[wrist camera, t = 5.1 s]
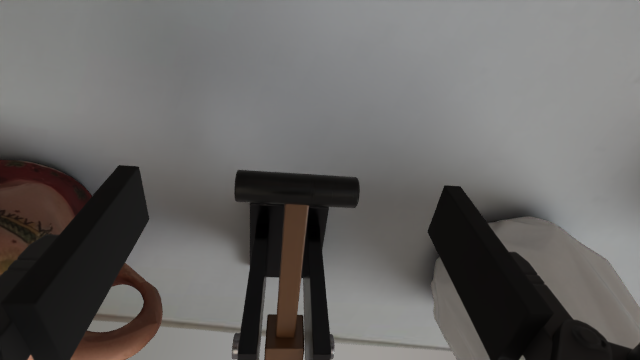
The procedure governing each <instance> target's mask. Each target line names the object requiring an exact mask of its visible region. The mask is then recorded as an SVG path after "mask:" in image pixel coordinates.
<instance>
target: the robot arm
mask: <svg viewBox="0 0 640 360" xmlns="http://www.w3.org/2000/svg"><path fill="white" fill-rule="evenodd" d="M148 221H149V215H148V210H147V205H146V200H145V195H144V190H143V185H142V180H141V175H140V170H139V167H137V166H121V165H119V166H118V167H117V168H116V169H115V171H114V172H113V173H112V174H111V175H110V176H109V178H108V179H107V180H106V181H105V182H104V183H103V185H102V186H101V187H100V188H99V189H98V190H97V192H96V193H95V194H94V195H93V196H92V197H91V198H90V200H89V201H88V202H87V203H86V204H85V205H84V207H83V208H82V209H81V210H80V211H79V212H78V214H77V215H76V216H75V217H74V218H73V219H72V221H71V222H70V223H69V224H68V225H67V226H66V228H65V229H64V230H63V231H62V232H61V233H60V235H53V234H46V235H44V236H43V237H41V238H39V239H38V240H36V241H35V242H33V243H31V244H30V245H29V246H28V247H27V248H26V249H25V250H24V251H23V252H22V253H21V254H20V255H19V256H18V257H17V258H18V259H17V260H15V261H14V262H13V263H12V264H11V265H10V266H9V267H8V270H7V271H4V272H3V273H2V274H1V276H0V360H27V359H28V358H29V356H30V355H31V356H32V358H33V359H34V360H70V359H71V357H72V356H73V354H74V352H75V350H76V348H77V347H78V345H79V343H80V341H81V340H82V338H83V336H84V334H85V332H86V331H87V329H88V327H89V325H90V324H91V322H92V320H93V318H94V316H95V315H96V313H97V311H98V309H99V308H100V306H101V304H102V302H103V300H104V299H105V297H106V295H107V293H108V292H109V290H110V288H111V286H112V285H113V283H114V281H115V279H116V277H117V276H118V274H119V272H120V270H121V269H122V267H123V265H124V263H125V261H126V260H127V258H128V256H129V254H130V253H131V251H132V249H133V247H134V245H135V244H136V242H137V240H138V238H139V237H140V235H141V233H142V231H143V229H144V228H145V226H146V224H147V222H148ZM428 234H429V236H430V238H431V240H432V242H433V244H434V246H435V248H436V250H437V252H438V254H439V256H440V258H441V260H442V262H443V265H444V267H445V269H446V271H447V273H448V275H449V277H450V279H451V281H452V283H453V285H454V287H455V289H456V291H457V293H458V295H459V297H460V299H461V301H462V303H463V305H464V307H465V309H466V311H467V313H468V315H469V317H470V319H471V321H472V323H473V325H474V327H475V330H476V332H477V334H478V336H479V338H480V340H481V342H482V344H483V346H484V348H485V350H486V352H487V354H488V356H489V358H490V360H519V359H520V358H521V356H522V355H523V356H524V358H525V359H526V360H640V343H639V344H638V345H637V346H636V347H635V348H634V349H631V348H628V347H624V346H621V345H617V344H614V343H611V342H608V341H607V340H606V338H605V337H604V336H603V335H602V334H601V333H600V332H598V331H597V330H596V329H595V328H593V327H591V326H590V325H588V324H587V323H584V322H582V321H579V320H574V319H573V318H572V317H571V316H570V314H569V313H568V312H567V311H566V309H565V308H564V307H563V305H562V304H561V303H560V302H559V300H558V299H557V298H556V297H555V295H554V294H553V293H552V291H551V290H550V289H549V288H548V286H547V285H545V284H544V283H545V282H544V281H543V280H542V279H541V277H540V276H539V275H537V272H536V271H535V270H534V268H533V267H532V266H531V264H530V263H529V262H528V261H527V260H525V259H524V258H523V257H522V256H520V255H519V254H518V253H517V252H508V250H507V249H506V247H505V246H504V245H503V243H502V242H501V241H500V239H499V238H498V237H497V235H496V234H495V233H494V231H493V230H492V228H491V227H490V226H489V224H488V223H487V222H486V220H485V219H484V218H483V216H482V215H481V214H480V212H479V211H478V210H477V208H476V207H475V205H474V204H473V203H472V201H471V200H470V199H469V197H468V196H467V195H466V193H465V192H464V191H463V189H462V188H461V187H460V186H444V188H443V191H442V194H441V196H440V199H439V202H438V204H437V207H436V210H435V213H434V215H433V218H432V221H431V224H430V226H429V229H428Z"/></svg>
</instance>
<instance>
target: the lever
mask: <svg viewBox="0 0 640 360" xmlns="http://www.w3.org/2000/svg"><path fill="white" fill-rule="evenodd" d="M359 193H360V186H359V180H358V178H356V177H343V176H327V175H312V174H296V173H280V172H264V171H249V170H238V171H237V174H236V179H235V200H236V201H237V202H250V203H269V204H284V219H283V233H282V248H281V262H280V276H279V291H278V305H277V315H271V314H269V315H268V317H267V330H266V344H265V359H264V360H303V354H304V325H303V315H297V311H298V301H299V292H300V283H301V274H302V264H303V255H304V246H305V237H306V227H307V218H308V209H309V206H325V207H344V208H356V207H357V204H358V201H359Z"/></svg>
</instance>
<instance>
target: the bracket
mask: <svg viewBox="0 0 640 360" xmlns="http://www.w3.org/2000/svg"><path fill="white" fill-rule="evenodd" d="M328 210H329V207H325V206H309V209H308V218H307V227H306V237H305V246H304V255H303V264H302V274H301V278H303V293H304V333H305V360H331V359H333V357H334V337H333V335H332V334H330V331H329V320H328V309H327V299H326V288H325V277H324V266H323V255H322V247H323V241H324V235H325V229H326V222H327V216H328ZM283 219H284V204H269V203H250V271H249V278H248V285H247V291H246V298H245V305H244V312H243V319H242V326H241V332H240V333H235V335H234V339H233V346H232V359H237V360H259V353H260V342H261V331H262V320H263V309H264V298H265V287H266V277H279V276H280V262H281V248H282V233H283Z"/></svg>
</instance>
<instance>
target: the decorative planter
mask: <svg viewBox="0 0 640 360" xmlns="http://www.w3.org/2000/svg"><path fill="white" fill-rule="evenodd" d="M91 197H92V196H91V194H90V193H89V192H88V191H87V190H86V188H85V187H84V186H82V185H81V184H80V183H79V182H77V181H76V180H75V179H74V178H72V177H70V176H68V175H66V174H64V173H62V172H60V171H58V170H56V169H53V168H50V167H47V166H43V165H40V164H36V163H32V162H27V161H19V160H0V276H1V274H2V273H3V272H4V271H7V270H8V267H9V266H10V265H11V264H12V263H13V262H14V261H15V260H17V259H18V258H17V257H18V256H19V255H20V254H21V253H22V252H23V251H24V250H25V249H26V248H27V247H28V246H29V245H30V244H31V243H33V242H35V241H36V240H38V239H39V238H41V237H43V236H44V235H46V234H53V235H60V233H61V232H62V231H63V230H64V229H65V228H66V226H67V225H68V224H69V223H70V222H71V221H72V219H73V218H74V217H75V216H76V215H77V214H78V212H79V211H80V210H81V209H82V208H83V207H84V205H85V204H86V203H87V202H88V201H89V200H90V198H91ZM120 284H125V285H130V286H132V287H134V288H136V289H137V290H138V291H139V292H140V293H141V295H142V297H143V300H144V304H143V308H142V310H141V312H140V313H139V314H138V315H137V317H136V318H135V319H134V320H132V321H131V322H130V323H128V324H127V325H125V326H123V327H121V328H119V329H117V330H113V331H109V332H101V333H100V332H91V331H86V332H85V334H84V336H83V338H82V340H81V341H80V343H79V345H78V347H77V348H76V350H75V352H74V354H73V356H72V357H71V359H70V360H126V359H128V358H129V357H131V356H133V355H135V354H136V353H138V352H139V351H140V350H141V349H142V348H143V347H145V346H146V344H147V343H148V342H149V341H150V340H151V339H152V338H153V337H154V336H155V334H156V333H157V331H158V329H159V327H160V324H161V321H162V313H163V311H162V303H161V297H160V295H159V293H158V290H157V289H156V288H155V287H154V286H152V285H151V284H150V283H148V282H147V281H145V279H144V278H142V277H141V276H140V275H139V274H137V273H136V272H135V271H134V270H133V269H132V268H131V267H130V266H128V265H127V264H126V263H124V265H123V267H122V269H121V270H120V272H119V274H118V276H117V277H116V279H115V281H114V283H113V285H112V286H116V285H120ZM112 286H111V287H112ZM27 360H34V359H33V358H32V356H31V355H30V356H29V358H28V359H27Z"/></svg>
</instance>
